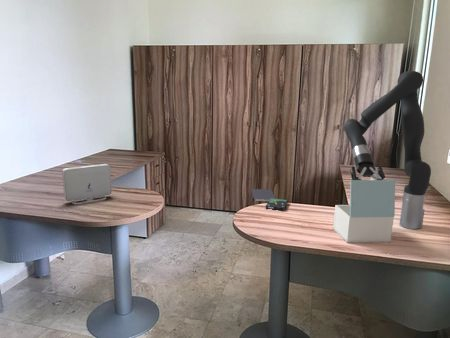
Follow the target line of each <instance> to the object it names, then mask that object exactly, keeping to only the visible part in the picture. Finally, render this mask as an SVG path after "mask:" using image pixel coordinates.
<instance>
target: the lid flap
mask: <svg viewBox="0 0 450 338" xmlns="http://www.w3.org/2000/svg"><path fill="white" fill-rule="evenodd" d="M349 182H350V184H349V185H350V186H349V187H350V188H349V191H350V192H349V195H350V196H349V200H350V201H349V205H350V217H394V218H395V206H396V205H395V203H396V201H395V200H396V198H395V197H396V180H395V179H383V180H371V179H366V180H365V179H362V180H352V179H350V181H349Z"/></svg>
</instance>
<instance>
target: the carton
mask: <svg viewBox="0 0 450 338" xmlns="http://www.w3.org/2000/svg"><path fill="white" fill-rule="evenodd" d="M334 207H335V208H334V215H333V216H334V217H333V226H332V229H333V230H334V231H335V232H336V234H338V235H339V236H340V238H341V239H343V240H344V241H345V243H347V244H354V243H356V244H361V243H365V244H366V243H367V242H370V243H391V241H392V234H393V226H394V219H395V216H394V217H350V204H335V206H334Z"/></svg>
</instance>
